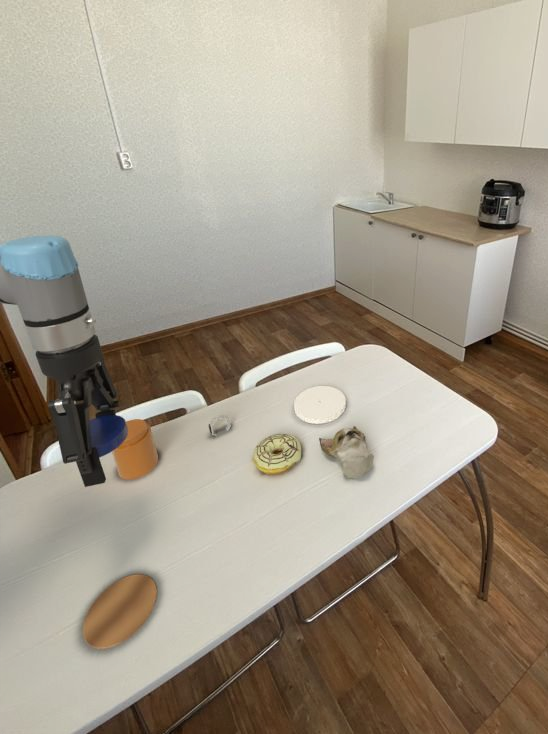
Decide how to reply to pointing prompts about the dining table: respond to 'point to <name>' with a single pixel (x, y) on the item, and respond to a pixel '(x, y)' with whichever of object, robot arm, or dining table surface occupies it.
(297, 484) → the dining table surface
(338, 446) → the ceramic sculpture
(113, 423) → the jar lid
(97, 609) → the wooden coaster
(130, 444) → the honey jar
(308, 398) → the plastic lid
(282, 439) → the decorated donut
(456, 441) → the dining table surface
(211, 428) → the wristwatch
